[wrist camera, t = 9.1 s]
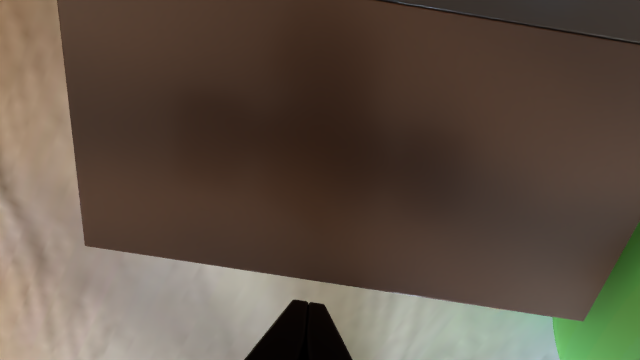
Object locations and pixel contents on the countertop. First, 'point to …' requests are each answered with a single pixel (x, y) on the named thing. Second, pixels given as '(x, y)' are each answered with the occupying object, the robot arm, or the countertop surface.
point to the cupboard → (364, 140)
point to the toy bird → (608, 315)
